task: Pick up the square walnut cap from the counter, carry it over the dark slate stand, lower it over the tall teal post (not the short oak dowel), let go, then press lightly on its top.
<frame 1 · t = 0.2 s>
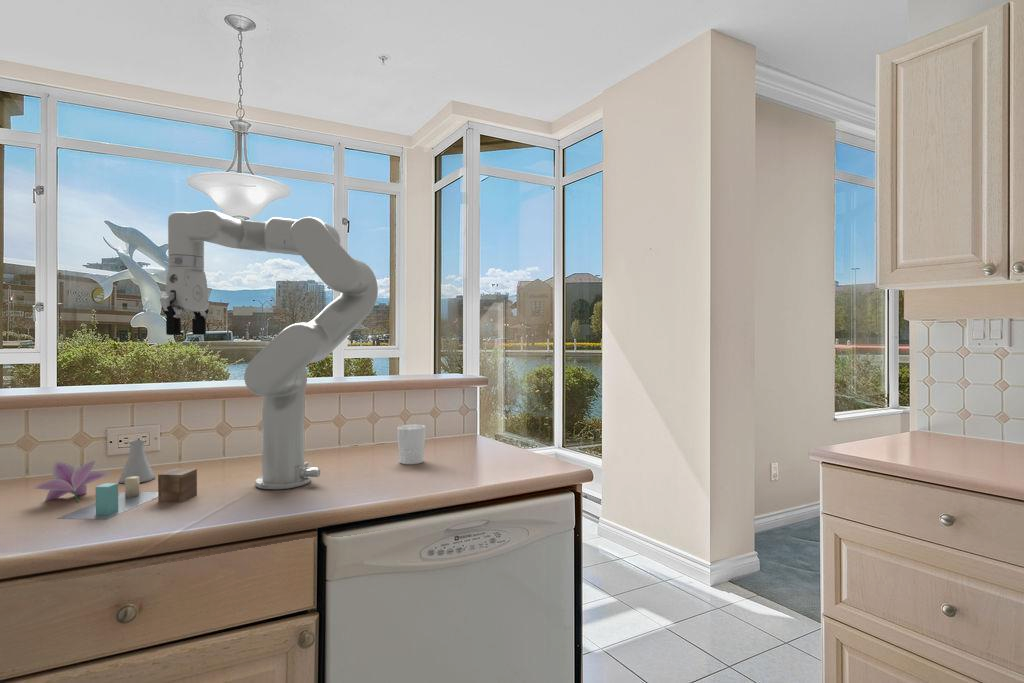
hand: (186, 334, 137), 36 cm above the worktop, tool pointing down, fingers open, 9 cm apart
teal post: (107, 512, 113), resting on slate stand
slate stand: (116, 508, 118), on the worktop
flask: (137, 481, 139), on the worktop
lily: (72, 504, 121), on the worktop
walnut cap: (178, 501, 122), on the worktop
white cup: (411, 462, 160), on the worktop
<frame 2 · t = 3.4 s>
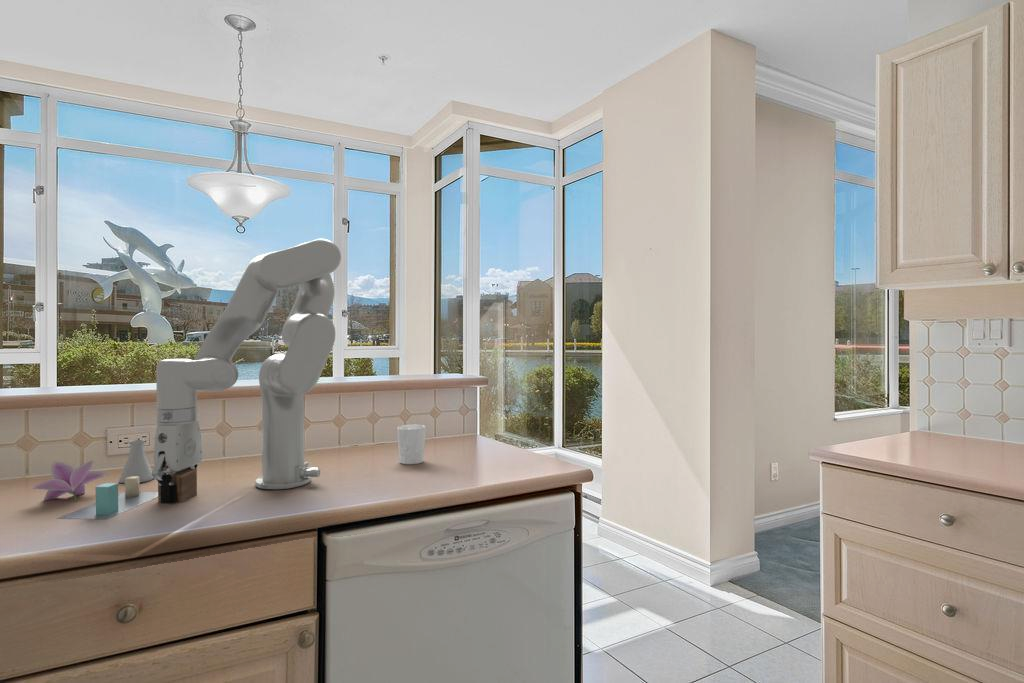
hand: (177, 498, 122), 1 cm above the worktop, tool pointing down, fingers closed on walnut cap, 5 cm apart
walnut cap: (177, 501, 122), on the worktop, touching gripper
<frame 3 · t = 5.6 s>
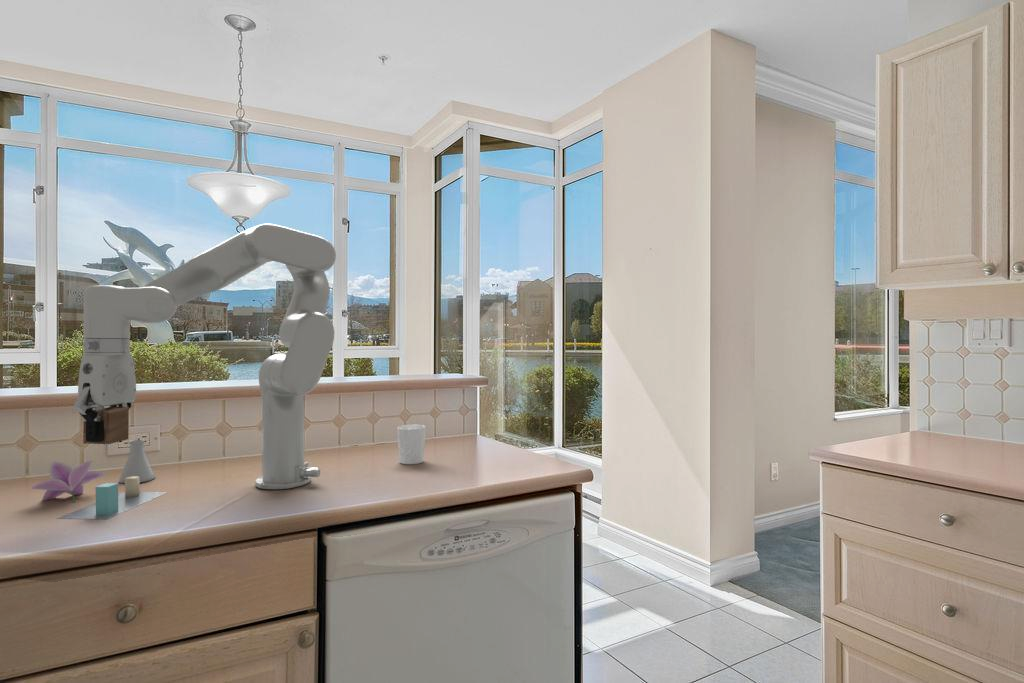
hand: (106, 437, 112), 16 cm above the worktop, tool pointing down, fingers closed on walnut cap, 5 cm apart
walnut cap: (106, 441, 112), point 15 cm above the worktop, touching gripper
when the fingers open (3 cm above the worktop, at t = 8.0 s): walnut cap drops 1 cm, resting on slate stand.
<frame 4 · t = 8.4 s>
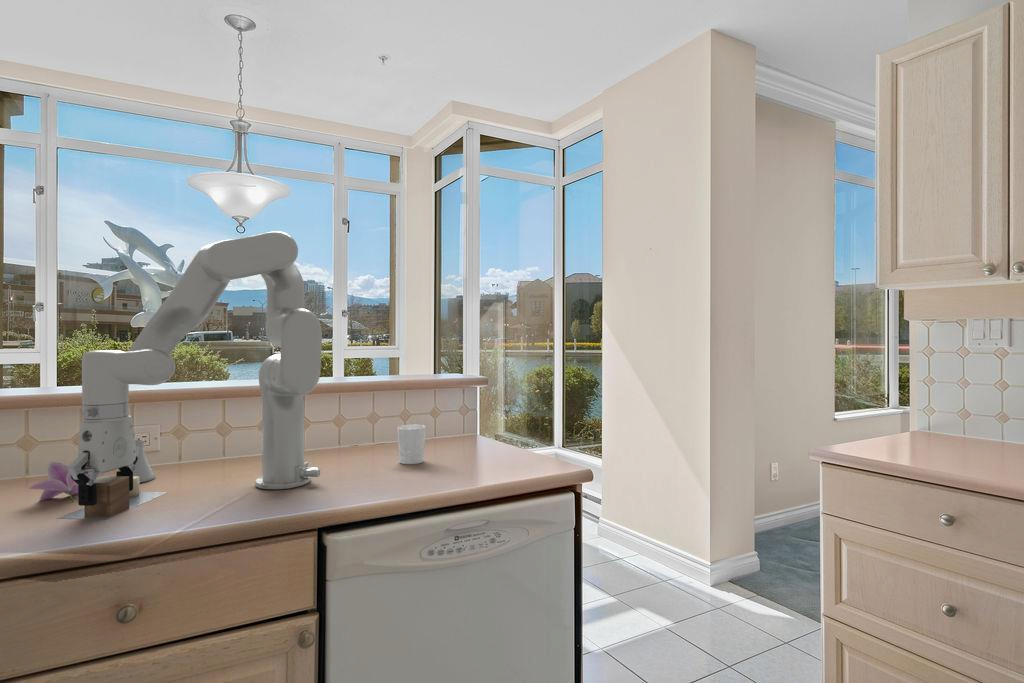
hand: (107, 497, 112), 4 cm above the worktop, tool pointing down, fingers open, 9 cm apart
walnut cap: (107, 512, 113), point 1 cm above the worktop, touching slate stand
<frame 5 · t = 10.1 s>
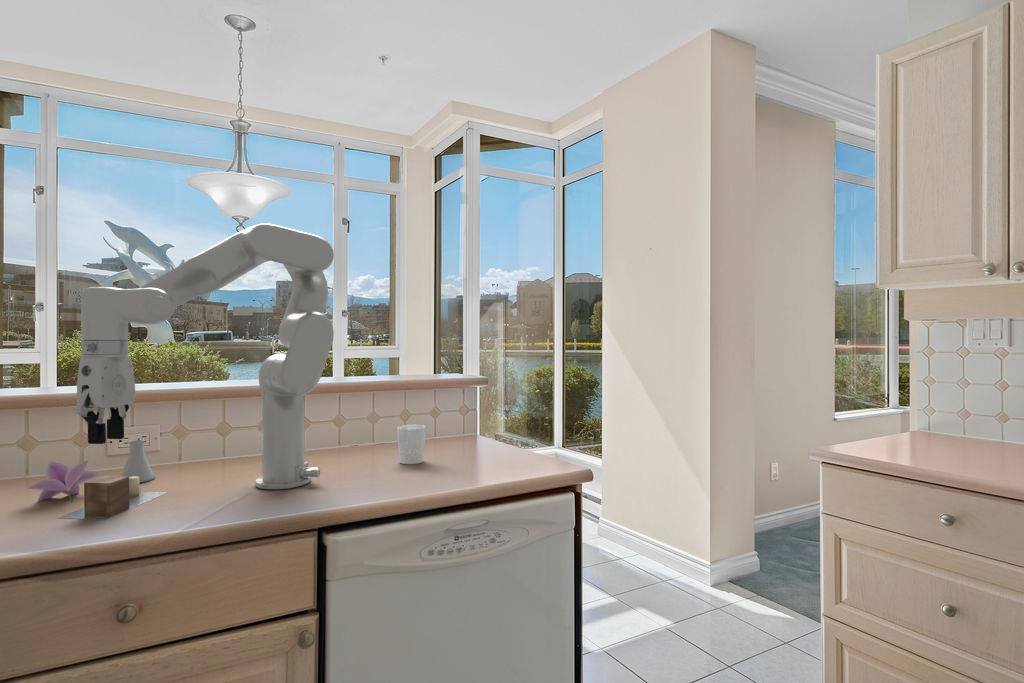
hand: (106, 440, 112), 15 cm above the worktop, tool pointing down, fingers open, 4 cm apart
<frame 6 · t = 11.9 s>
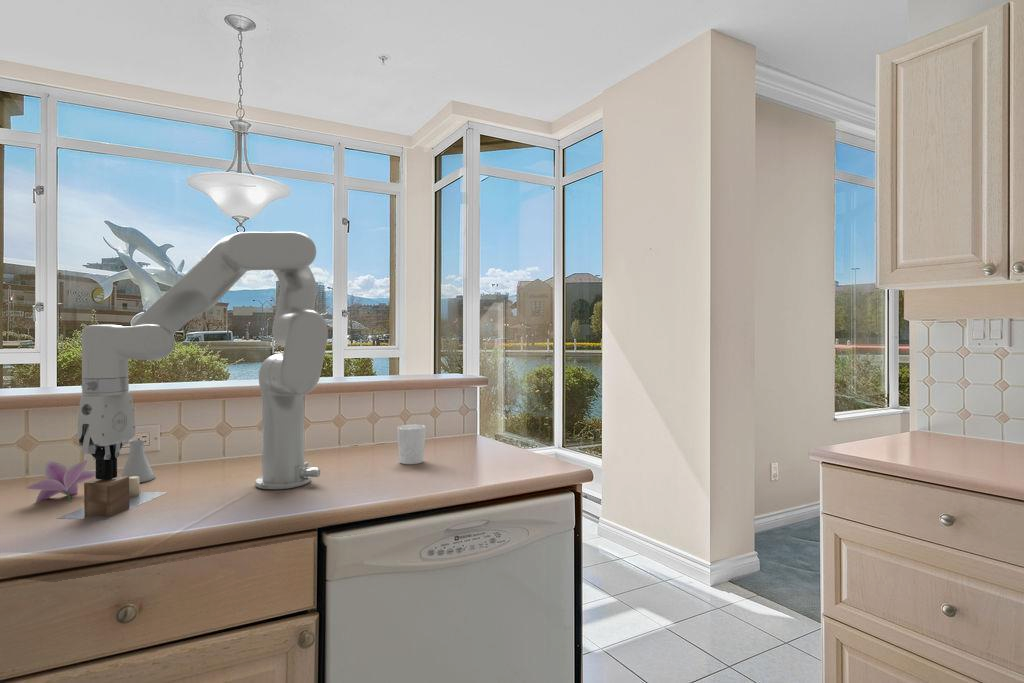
hand: (106, 478, 112), 8 cm above the worktop, tool pointing down, fingers closed
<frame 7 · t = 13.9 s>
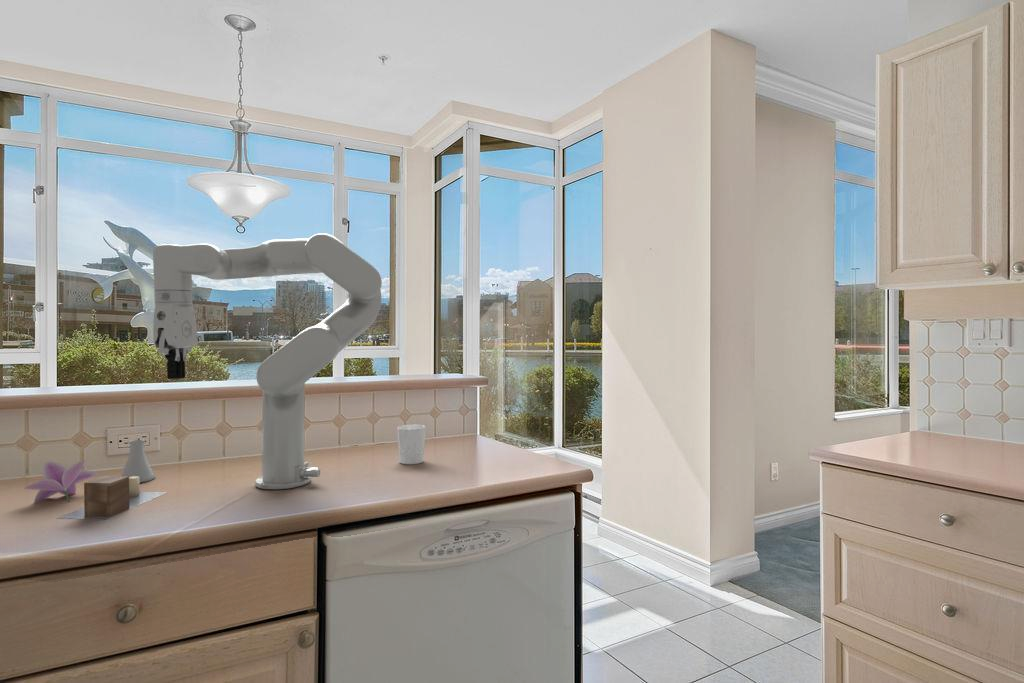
hand: (176, 378, 130), 26 cm above the worktop, tool pointing down, fingers closed
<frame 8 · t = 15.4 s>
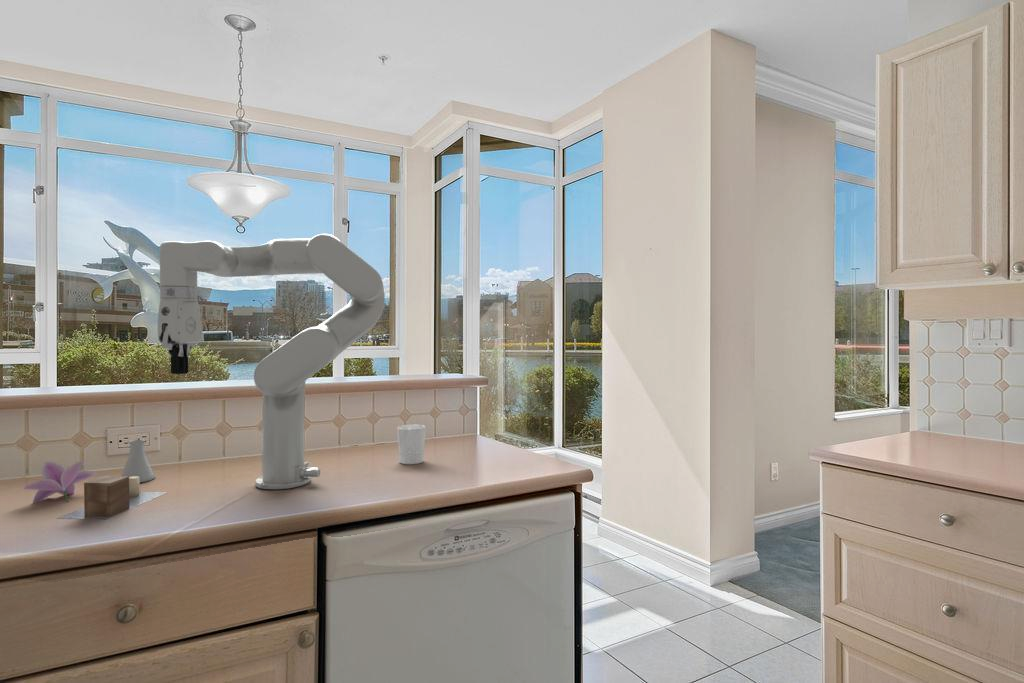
hand: (179, 373, 132), 27 cm above the worktop, tool pointing down, fingers closed
at the end: walnut cap 0.1 cm from the teal post (horizontally); walnut cap point 0.8 cm above the worktop; walnut cap tilted 0° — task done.
